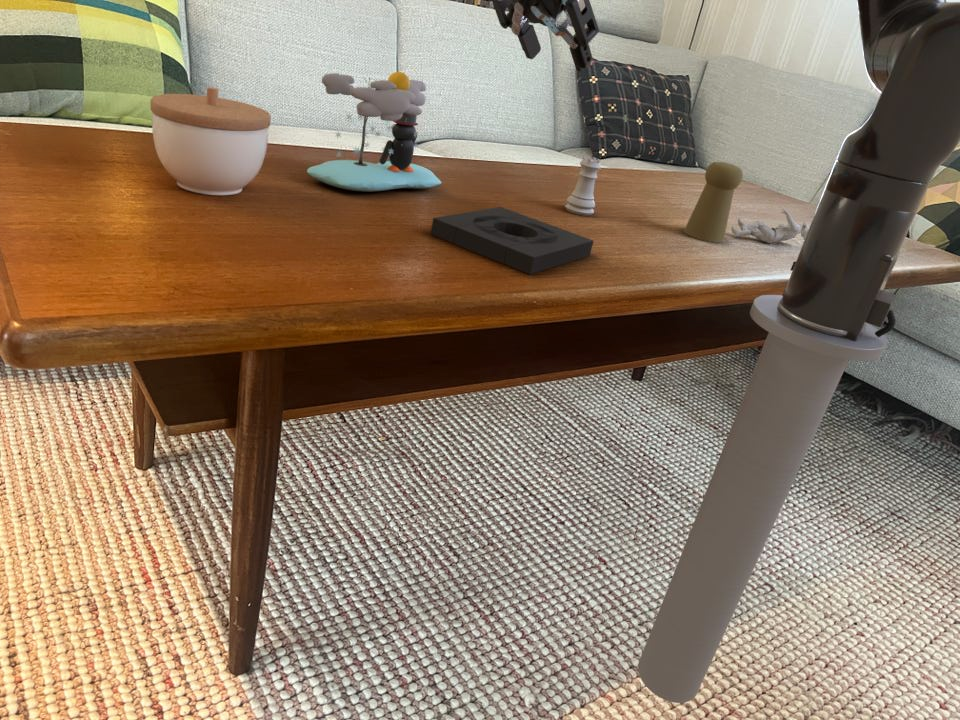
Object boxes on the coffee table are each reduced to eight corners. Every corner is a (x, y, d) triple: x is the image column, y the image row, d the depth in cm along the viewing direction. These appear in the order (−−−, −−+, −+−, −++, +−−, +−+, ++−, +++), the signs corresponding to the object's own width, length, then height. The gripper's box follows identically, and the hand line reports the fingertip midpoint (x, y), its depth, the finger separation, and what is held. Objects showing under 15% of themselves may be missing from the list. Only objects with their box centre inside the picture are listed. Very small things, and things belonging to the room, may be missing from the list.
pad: (589, 256, 89) (594, 240, 88) (529, 275, 78) (533, 257, 77) (497, 221, 95) (500, 206, 95) (430, 234, 85) (432, 217, 84)
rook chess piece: (584, 217, 106) (598, 163, 103) (558, 208, 109) (571, 154, 105) (598, 214, 110) (612, 161, 106) (573, 206, 112) (586, 153, 109)
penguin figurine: (408, 173, 111) (424, 68, 104) (455, 194, 104) (474, 83, 98) (292, 174, 97) (301, 53, 91) (336, 198, 91) (349, 70, 84)
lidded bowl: (205, 208, 78) (207, 101, 73) (126, 176, 82) (123, 74, 78) (288, 195, 88) (295, 100, 83) (214, 168, 93) (216, 77, 88)
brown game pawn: (682, 235, 108) (706, 161, 104) (685, 226, 114) (707, 156, 109) (723, 245, 107) (749, 171, 102) (723, 237, 112) (748, 165, 108)
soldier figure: (722, 235, 118) (788, 220, 120) (732, 262, 116) (799, 247, 118) (742, 212, 110) (813, 196, 112) (754, 240, 109) (825, 224, 111)
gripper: (588, -79, 76) (621, 51, 89) (493, -88, 84) (536, 31, 97) (544, -31, 75) (584, 93, 87) (452, -46, 83) (500, 70, 96)
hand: (558, 60), depth 92 cm, fingers open, 8 cm apart
